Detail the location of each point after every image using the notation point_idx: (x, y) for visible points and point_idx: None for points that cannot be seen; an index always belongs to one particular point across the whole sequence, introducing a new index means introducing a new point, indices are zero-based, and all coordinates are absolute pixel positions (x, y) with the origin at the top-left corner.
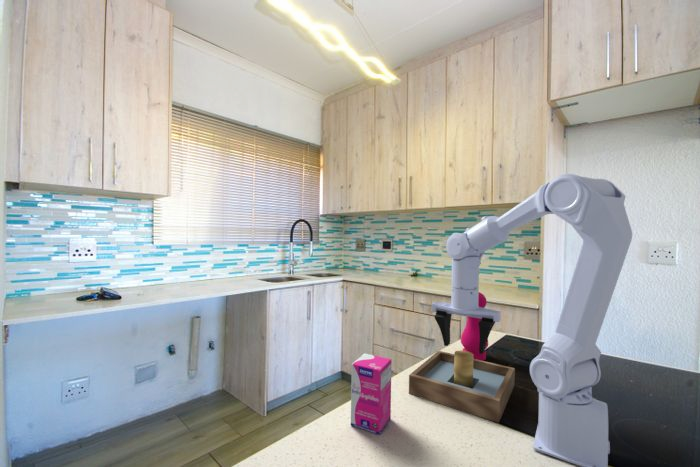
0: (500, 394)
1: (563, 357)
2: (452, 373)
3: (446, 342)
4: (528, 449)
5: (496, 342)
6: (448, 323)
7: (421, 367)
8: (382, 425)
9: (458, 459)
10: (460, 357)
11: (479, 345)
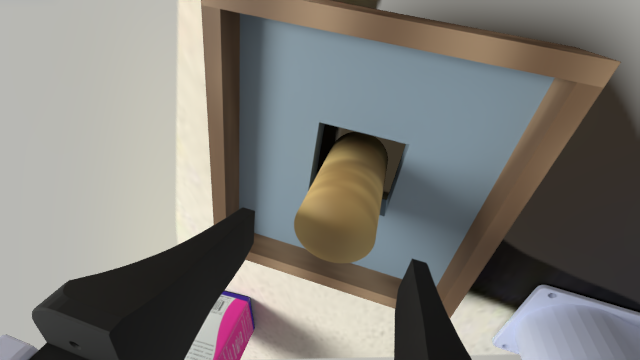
0: (457, 299)
1: None
2: (312, 131)
3: (244, 259)
4: (482, 335)
5: None
6: (184, 307)
7: (220, 198)
8: (250, 329)
9: (364, 355)
10: (324, 257)
11: (395, 332)
